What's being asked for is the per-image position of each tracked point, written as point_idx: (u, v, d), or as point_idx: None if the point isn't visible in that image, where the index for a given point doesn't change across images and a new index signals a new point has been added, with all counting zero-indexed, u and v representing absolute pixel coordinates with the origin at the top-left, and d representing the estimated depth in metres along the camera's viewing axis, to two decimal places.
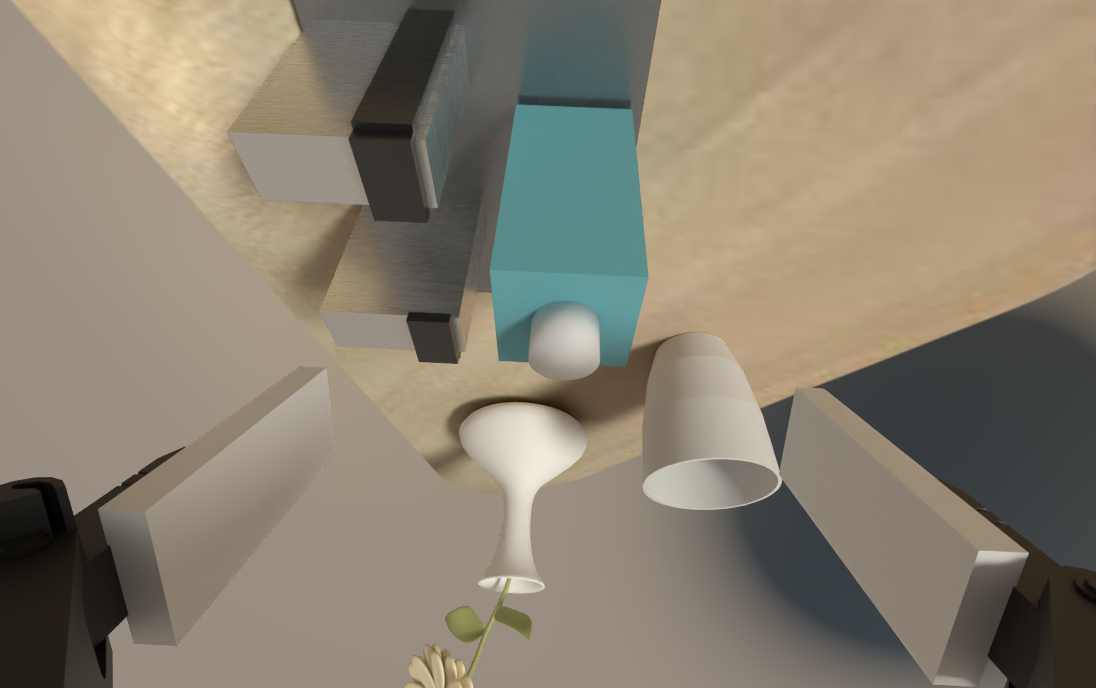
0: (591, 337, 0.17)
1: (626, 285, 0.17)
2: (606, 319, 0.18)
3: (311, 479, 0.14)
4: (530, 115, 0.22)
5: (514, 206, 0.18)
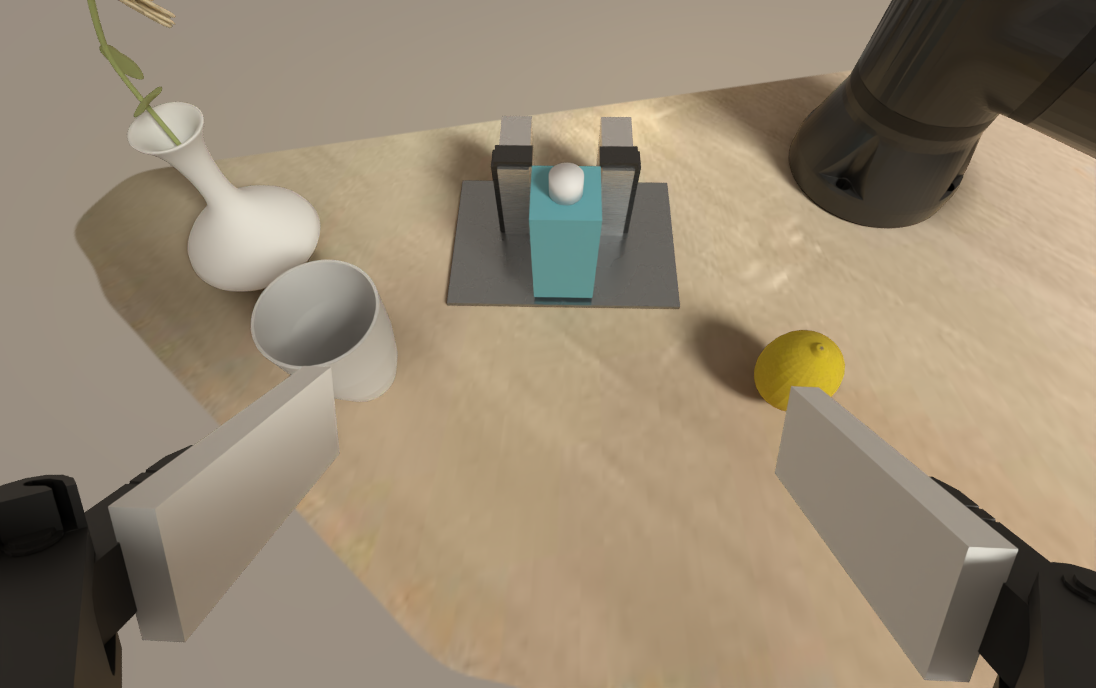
0: (578, 189, 0.35)
1: (596, 213, 0.36)
2: (570, 207, 0.36)
3: (316, 478, 0.14)
4: None
5: None
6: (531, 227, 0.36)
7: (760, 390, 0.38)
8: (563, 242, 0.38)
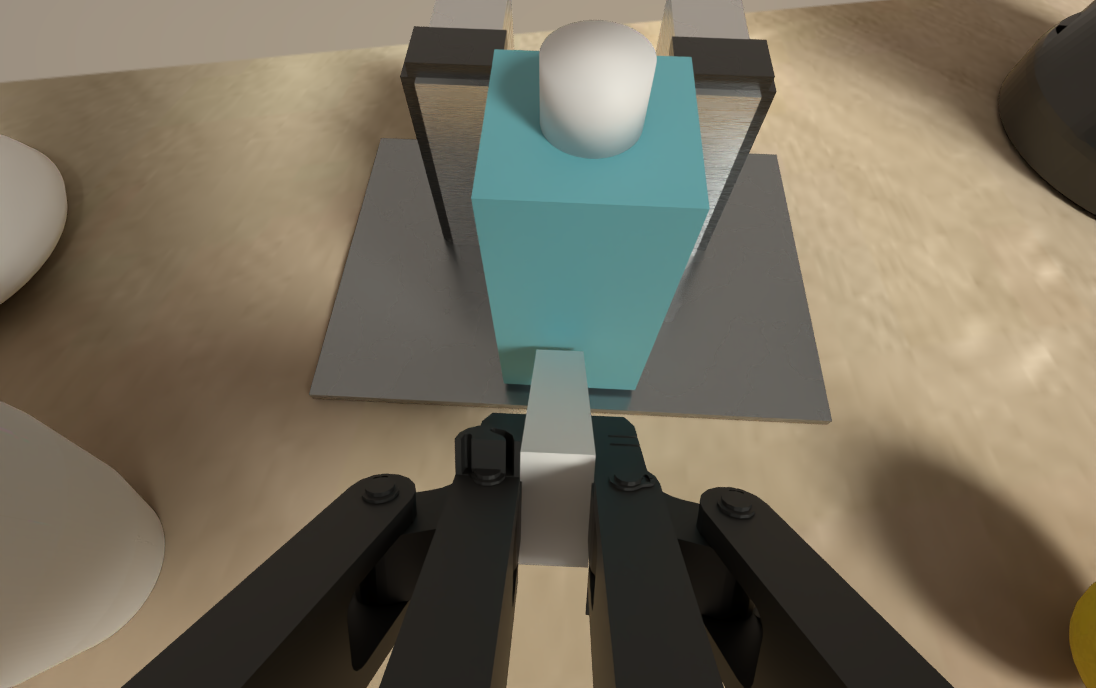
0: (635, 102, 0.11)
1: (688, 185, 0.11)
2: (606, 165, 0.11)
3: None
4: None
5: None
6: (481, 224, 0.12)
7: None
8: (578, 272, 0.13)
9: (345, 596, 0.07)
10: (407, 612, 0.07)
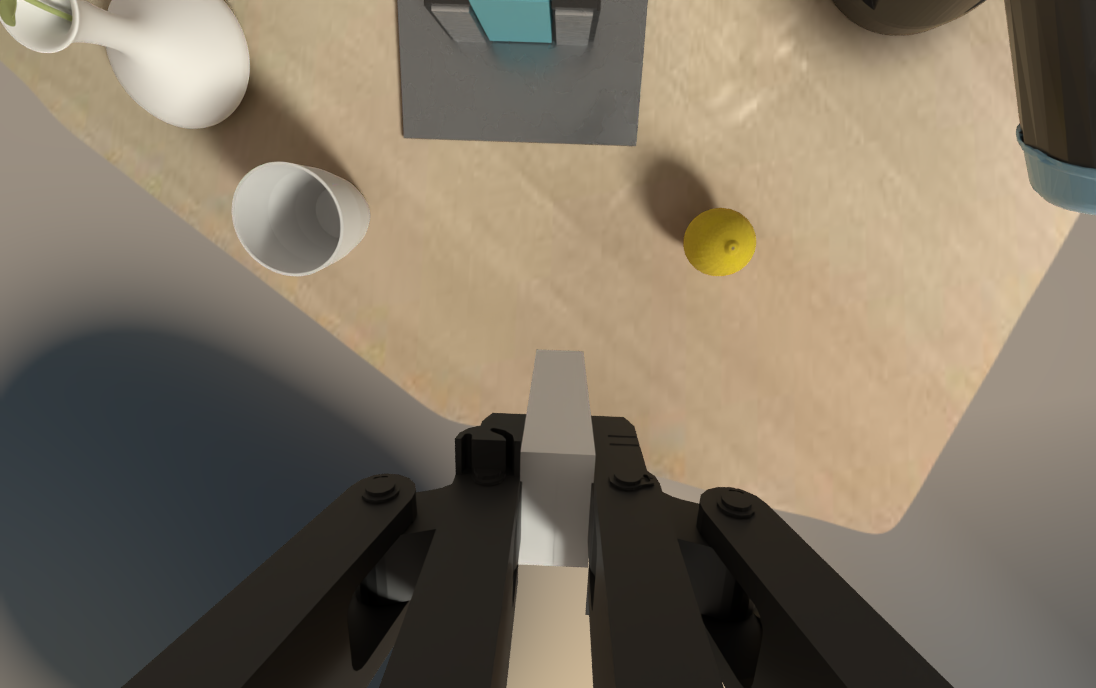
0: None
1: None
2: None
3: None
4: None
5: None
6: (472, 4, 0.33)
7: None
8: (510, 13, 0.35)
9: (345, 596, 0.07)
10: (407, 612, 0.07)
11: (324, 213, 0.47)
